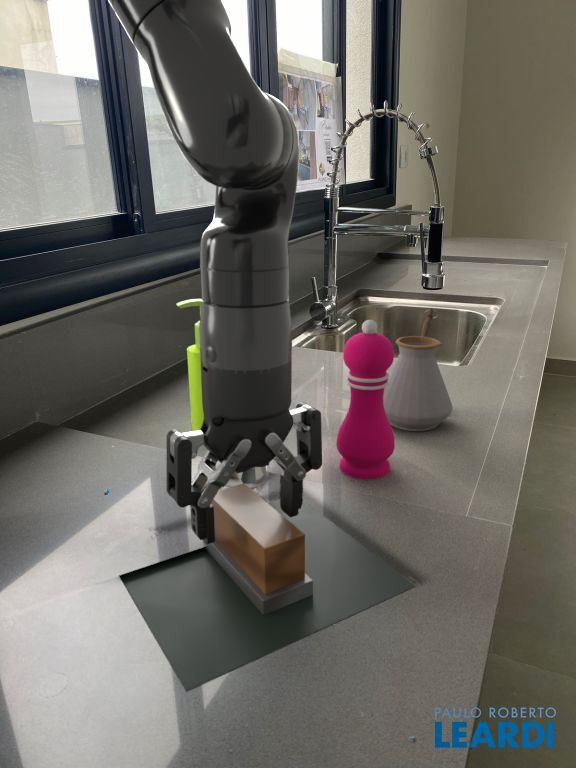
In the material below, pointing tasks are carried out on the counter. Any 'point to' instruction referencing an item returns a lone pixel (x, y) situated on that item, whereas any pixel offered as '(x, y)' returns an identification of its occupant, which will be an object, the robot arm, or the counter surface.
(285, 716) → the counter surface
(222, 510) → the eraser
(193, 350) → the soap dispenser
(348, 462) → the pepper mill
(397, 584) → the chalkboard
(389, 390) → the coffee pot
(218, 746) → the counter surface
